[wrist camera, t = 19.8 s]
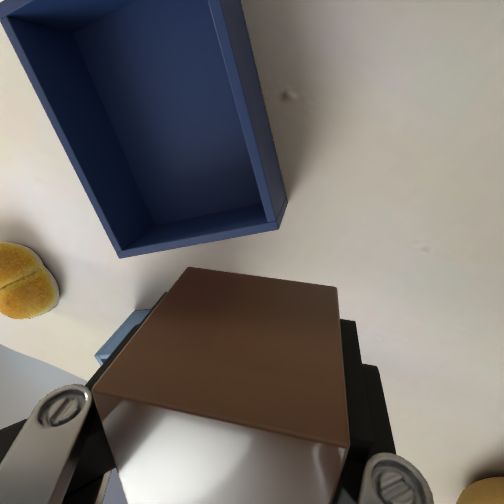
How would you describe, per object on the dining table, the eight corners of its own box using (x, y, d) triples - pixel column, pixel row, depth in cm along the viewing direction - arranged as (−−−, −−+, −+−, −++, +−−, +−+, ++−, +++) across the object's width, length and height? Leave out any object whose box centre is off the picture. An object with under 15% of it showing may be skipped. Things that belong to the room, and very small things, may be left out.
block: (187, 265, 10) (88, 389, 6) (337, 286, 9) (352, 447, 5) (195, 368, 13) (128, 512, 8) (316, 392, 12) (313, 566, 7)
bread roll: (21, 227, 31) (-18, 243, 27) (75, 297, 34) (46, 320, 30) (-24, 251, 34) (-64, 269, 30) (29, 313, 36) (-2, 336, 33)
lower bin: (68, 28, 21) (-8, 6, 16) (228, -53, 18) (191, -112, 13) (155, 230, 27) (118, 259, 22) (288, 202, 24) (278, 229, 19)
